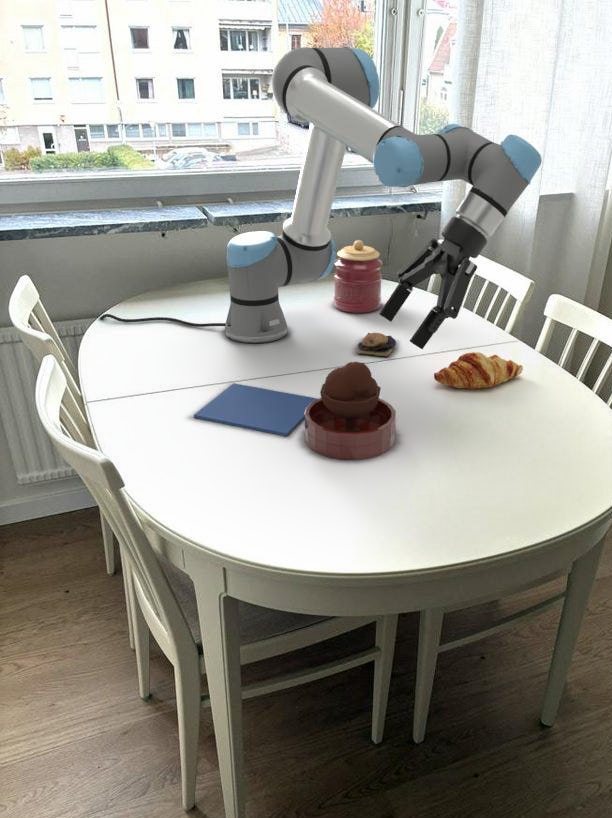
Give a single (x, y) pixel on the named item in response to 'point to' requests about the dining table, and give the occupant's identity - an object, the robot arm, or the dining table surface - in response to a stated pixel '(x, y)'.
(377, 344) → the open sandwich
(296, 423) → the cloth
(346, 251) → the kitchen canister
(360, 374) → the ice cream bowl
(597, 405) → the dining table surface
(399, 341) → the dining table surface
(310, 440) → the pot
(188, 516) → the dining table surface
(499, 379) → the croissant
